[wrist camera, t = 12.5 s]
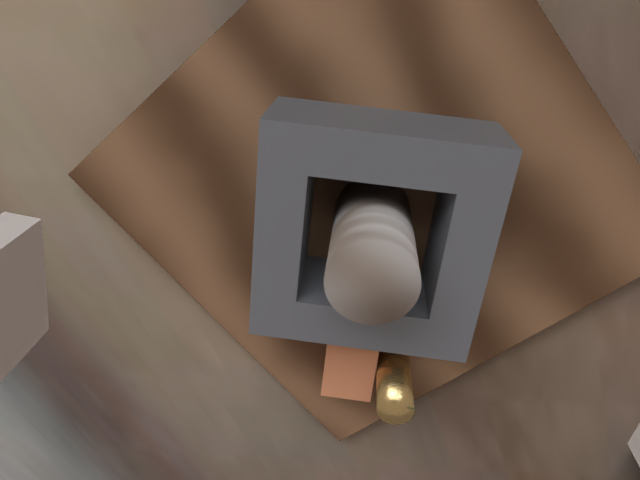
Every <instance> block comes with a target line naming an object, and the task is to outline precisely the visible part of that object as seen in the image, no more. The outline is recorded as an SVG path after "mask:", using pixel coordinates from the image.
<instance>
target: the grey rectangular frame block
mask: <svg viewBox="0 0 640 480" xmlns="http://www.w3.org/2000/svg"><path fill="white" fill-rule="evenodd" d="M522 151H523V150H522V149H521V148H520V147H519V145H518V144H517V143H516V142H515V141H514V140H513V139H512V137H511V136H510V135H509V134H508V133H507V132H506V130H505V129H504V128H503V127H502V126H501V125H500V124H499V122H494V121H486V120H477V119H469V118H460V117H452V116H443V115H435V114H426V113H418V112H409V111H401V110H392V109H384V108H375V107H367V106H358V105H350V104H341V103H333V102H325V101H316V100H308V99H299V98H291V97H282V96H278V97H277V98H276V99H275V101H274V102H273V103H272V104H271V105H270V107H269V108H268V109H267V110H266V111H265V113H264V114H263V115H262V116H261V117H260V119H259V138H258V158H257V178H256V198H255V218H254V238H253V258H252V278H251V298H250V318H249V334H254V335H262V336H269V337H277V338H284V339H291V340H299V341H306V342H314V343H321V344H327V348H326V356H325V364H324V372H323V380H322V388H321V396H328V397H335V398H342V399H350V400H357V401H364V402H370V400H371V395H372V389H373V383H374V378H375V372H376V367H377V361H378V356H379V351H380V352H388V353H395V354H402V355H410V356H417V357H425V358H432V359H440V360H447V361H454V362H462V363H466V361H467V357H468V353H469V349H470V346H471V342H472V338H473V334H474V331H475V327H476V323H477V319H478V316H479V312H480V308H481V304H482V301H483V297H484V293H485V290H486V286H487V282H488V278H489V275H490V271H491V267H492V263H493V260H494V256H495V252H496V248H497V245H498V241H499V237H500V234H501V230H502V226H503V222H504V219H505V215H506V211H507V207H508V204H509V200H510V196H511V192H512V189H513V185H514V181H515V177H516V174H517V170H518V166H519V163H520V159H521V155H522ZM315 177H320V178H328V179H336V180H344V181H352V182H361V183H369V184H377V185H385V186H393V187H401V188H409V189H417V190H425V191H433V192H437V195H436V200H435V205H434V210H433V215H432V220H431V225H430V230H429V235H428V239H427V244H426V249H425V254H424V259H423V264H422V269H421V270H420V274H421V292H420V295H419V298H418V300H417V302H416V303H415V305H414V306H413V308H412V309H411V310H410V311H409V312H408V313H407V314H406V315H404V316H403V317H401V318H399V319H398V320H396V321H393V322H390V323H387V324H382V325H364V324H359V323H356V322H353V321H351V320H348V319H347V318H345V317H343V316H342V315H340V314H339V313H338V312H337V311H336V310H335V309H334V308H333V307H332V306H331V304H330V302H329V301H328V299H327V297H326V294H325V290H324V274H325V268H326V263H327V258H322V257H314V256H307V254H308V244H309V234H310V224H311V214H312V204H313V194H314V184H315Z"/></svg>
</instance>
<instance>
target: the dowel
mask: <svg viewBox="0 0 640 480" xmlns="http://www.w3.org/2000/svg"><path fill="white" fill-rule="evenodd" d="M376 393H377V414H378V416H379V418H380V419H381V420H383V421H384V422H386V423H388V424H393V425H399V424H403V423H406V422H408V421H409V420H410V419H411V418H412V417H413V415H414V412H415V409H414V398H413V387H412V377H411V366H410V355H402V354H395V353H388V352H380V351H379V356H378V361H377V367H376Z"/></svg>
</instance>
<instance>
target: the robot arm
mask: <svg viewBox="0 0 640 480" xmlns="http://www.w3.org/2000/svg"><path fill="white" fill-rule="evenodd" d="M48 330H49V321H48V306H47V292H46V278H45V263H44V249H43V235H42V220H41V219H39V218H34V217H29V216H23V215H18V214H13V213H8V212H3V213H2V214H0V382H1V381H2V380H3V379H4V378H5V377H6V376H7V375H8V373H9V372H10V371H11V370H12V369H13V368H14V367H15V366H16V365H17V364H18V363H19V361H20V360H21V359H22V358H23V357H24V356H25V355H26V354H27V353H28V352H29V350H30V349H31V348H32V347H33V346H34V345H35V344H36V343H37V342H38V341H39V340H40V338H41V337H42V336H43V335H44V334H45V333H46V332H47V331H48ZM627 444H628V446H629V448H630V450H631V452H632V454H633V456H634V457H635V459H636V461H637V463H638V465H639V467H640V423H639V425H638V427H637V428H636V430H635V432H634V433H633V435H632V437H631V438H630V440H629V442H628V443H627Z"/></svg>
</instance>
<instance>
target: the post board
mask: <svg viewBox="0 0 640 480" xmlns="http://www.w3.org/2000/svg"><path fill="white" fill-rule="evenodd" d="M278 96H282V97H291V98H299V99H308V100H316V101H325V102H333V103H341V104H350V105H358V106H367V107H375V108H384V109H392V110H401V111H409V112H418V113H426V114H435V115H443V116H452V117H460V118H469V119H477V120H486V121H494V122H499V124H500V125H501V126H502V127H503V128H504V129H505V130H506V132H507V133H508V134H509V135H510V136H511V137H512V139H513V140H514V141H515V142H516V143H517V144H518V145H519V147H520V148H521V149H522V150H523V151H522V155H521V159H520V163H519V166H518V170H517V174H516V177H515V181H514V185H513V189H512V192H511V196H510V200H509V204H508V207H507V211H506V215H505V219H504V222H503V226H502V230H501V234H500V237H499V241H498V245H497V248H496V252H495V256H494V260H493V263H492V267H491V271H490V275H489V278H488V282H487V286H486V290H485V293H484V297H483V301H482V304H481V308H480V312H479V316H478V319H477V323H476V327H475V331H474V334H473V338H472V342H471V346H470V349H469V353H468V357H467V361H466V363H462V362H454V361H447V360H440V359H432V358H425V357H417V356H410V366H411V377H412V387H413V398H414V400H416V399H418V398H420V397H421V396H423V395H425V394H427V393H429V392H430V391H432V390H434V389H436V388H438V387H440V386H441V385H443V384H445V383H447V382H449V381H451V380H452V379H454V378H456V377H458V376H460V375H462V374H463V373H465V372H467V371H469V370H471V369H472V368H474V367H476V366H478V365H480V364H482V363H483V362H485V361H487V360H489V359H491V358H493V357H494V356H496V355H498V354H500V353H502V352H504V351H505V350H507V349H509V348H511V347H513V346H514V345H516V344H518V343H520V342H522V341H524V340H525V339H527V338H529V337H531V336H533V335H535V334H536V333H538V332H540V331H542V330H544V329H546V328H547V327H549V326H551V325H553V324H555V323H556V322H558V321H560V320H562V319H564V318H566V317H567V316H569V315H571V314H573V313H575V312H577V311H578V310H580V309H582V308H584V307H586V306H588V305H589V304H591V303H593V302H595V301H597V300H598V299H600V298H602V297H604V296H606V295H608V294H609V293H611V292H613V291H615V290H617V289H619V288H620V287H622V286H624V285H626V284H628V283H630V282H631V281H633V280H635V279H637V278H639V277H640V165H639V163H638V161H637V160H636V158H635V157H634V155H633V153H632V152H631V150H630V149H629V147H628V145H627V144H626V142H625V141H624V139H623V138H622V136H621V134H620V133H619V131H618V130H617V128H616V126H615V125H614V123H613V122H612V120H611V118H610V117H609V115H608V114H607V112H606V110H605V109H604V107H603V106H602V104H601V103H600V101H599V99H598V98H597V96H596V95H595V93H594V91H593V90H592V88H591V87H590V85H589V83H588V82H587V80H586V79H585V77H584V76H583V74H582V72H581V71H580V69H579V68H578V66H577V64H576V63H575V61H574V60H573V58H572V56H571V55H570V53H569V52H568V50H567V49H566V47H565V45H564V44H563V42H562V41H561V39H560V37H559V36H558V34H557V33H556V31H555V29H554V28H553V26H552V25H551V23H550V22H549V20H548V18H547V17H546V15H545V14H544V12H543V10H542V9H541V7H540V6H539V4H538V2H537V1H536V0H248V1H247V2H246V3H245V4H244V5H243V6H242V7H241V8H240V9H239V10H238V11H237V12H236V13H235V14H234V15H233V16H232V17H231V18H230V19H229V20H228V21H227V22H226V23H225V24H224V25H223V26H222V27H220V28H219V29H218V30H217V31H216V32H215V33H214V34H213V35H212V36H211V37H210V38H209V39H208V40H207V41H206V42H205V43H204V44H203V45H202V46H201V47H200V48H199V49H198V50H197V51H196V52H195V53H194V54H193V55H192V56H190V57H189V58H188V59H187V60H186V61H185V62H184V63H183V64H182V65H181V66H180V67H179V68H178V69H177V70H176V71H175V72H174V73H173V74H172V75H171V76H170V77H169V78H168V79H167V80H166V81H165V82H164V83H163V84H162V85H160V86H159V87H158V88H157V89H156V90H155V91H154V92H153V93H152V94H151V95H150V96H149V97H148V98H147V99H146V100H145V101H144V102H143V103H142V104H141V105H140V106H139V107H138V108H137V109H136V110H135V111H134V112H133V113H132V114H130V115H129V116H128V117H127V118H126V119H125V120H124V121H123V122H122V123H121V124H120V125H119V126H118V127H117V128H116V129H115V130H114V131H113V132H112V133H111V134H110V135H109V136H108V137H107V138H106V139H105V140H104V141H103V142H102V143H100V144H99V145H98V146H97V147H96V148H95V149H94V150H93V151H92V152H91V153H90V154H89V155H88V156H87V157H86V158H85V159H84V160H83V161H82V162H81V163H80V164H79V165H78V166H77V167H76V168H75V169H74V170H73V171H71V172H70V173H69V174H68V175H69V176H70V177H71V178H72V179H73V180H74V181H75V182H76V183H77V184H78V185H79V186H80V187H81V188H82V189H83V190H84V191H85V192H86V193H87V194H88V195H89V196H90V197H91V198H92V199H93V200H94V201H95V202H96V203H97V204H98V205H99V206H100V207H101V208H103V209H104V210H105V211H106V212H107V213H108V214H109V215H110V216H111V217H112V218H113V219H114V220H115V221H116V222H117V223H118V224H119V225H120V226H121V227H122V228H123V229H124V230H125V231H126V232H127V233H128V234H129V235H130V236H131V237H132V238H133V239H134V240H135V241H136V242H137V243H138V244H139V245H140V246H141V247H142V248H143V249H144V250H145V251H146V252H147V253H148V254H149V255H150V256H151V257H152V258H153V259H154V260H156V261H157V262H158V263H159V264H160V265H161V266H162V267H163V268H164V269H165V270H166V271H167V272H168V273H169V274H170V275H171V276H172V277H173V278H174V279H175V280H176V281H177V282H178V283H179V284H180V285H181V286H182V287H183V288H184V289H185V290H186V291H187V292H188V293H189V294H190V295H191V296H192V297H193V298H194V299H195V300H196V301H197V302H198V303H199V304H200V305H201V306H202V307H203V308H204V309H205V310H206V311H208V312H209V313H210V314H211V315H212V316H213V317H214V318H215V319H216V320H217V321H218V322H219V323H220V324H221V325H222V326H223V327H224V328H225V329H226V330H227V331H228V332H229V333H230V334H231V335H232V336H233V337H234V338H235V339H236V340H237V341H238V342H239V343H240V344H241V345H242V346H243V347H244V348H245V349H246V350H247V351H248V352H249V353H250V354H251V355H252V356H253V357H254V358H255V359H256V360H257V361H258V362H260V363H261V364H262V365H263V366H264V367H265V368H266V369H267V370H268V371H269V372H270V373H271V374H272V375H273V376H274V377H275V378H276V379H277V380H278V381H279V382H280V383H281V384H282V385H283V386H284V387H285V388H286V389H287V390H288V391H289V392H290V393H291V394H292V395H293V396H294V397H295V398H296V399H297V400H298V401H299V402H300V403H301V404H302V405H303V406H304V407H305V408H306V409H307V410H308V411H309V412H310V413H312V414H313V415H314V416H315V417H316V418H317V419H318V420H319V421H320V422H321V423H322V424H323V425H324V426H325V427H326V428H327V429H328V430H329V431H330V432H331V433H332V434H333V435H334V436H335V437H336V438H337V439H338V440H339V441H341V440H343V439H345V438H346V437H348V436H350V435H352V434H354V433H356V432H357V431H359V430H361V429H363V428H365V427H367V426H368V425H370V424H372V423H374V422H376V421H378V420H379V419H380V418H379V416H378V414H377V393H376V372H375V378H374V383H373V389H372V395H371V400H370V402H364V401H357V400H350V399H342V398H335V397H328V396H321V388H322V380H323V372H324V364H325V356H326V348H327V344H321V343H314V342H306V341H299V340H291V339H284V338H277V337H269V336H262V335H254V334H249V318H250V298H251V278H252V258H253V238H254V218H255V198H256V178H257V158H258V138H259V119H260V117H261V116H262V115H263V114H264V113H265V111H266V110H267V109H268V108H269V107H270V105H271V104H272V103H273V102H274V101H275V99H276V98H277V97H278ZM436 195H437V192H433V191H425V190H417V189H409V188H401V187H393V186H385V185H377V184H369V183H361V182H352V181H344V180H336V179H328V178H320V177H315V184H314V194H313V204H312V214H311V224H310V234H309V244H308V254H307V256H314V257H322V258H327V263H326V268H325V274H324V290H325V294H326V297H327V299H328V301H329V302H330V304H331V306H332V307H333V308H334V309H335V310H336V311H337V312H338V313H339V314H340V315H342V316H343V317H345V318H347V319H348V320H351V321H353V322H356V323H359V324H364V325H382V324H387V323H390V322H393V321H396V320H398V319H399V318H401V317H403V316H404V315H406V314H407V313H408V312H409V311H410V310H411V309H412V308H413V306H414V305H415V303H416V302H417V300H418V298H419V295H420V292H421V274H420V270H421V269H422V264H423V259H424V254H425V249H426V244H427V239H428V235H429V230H430V225H431V220H432V215H433V210H434V205H435V200H436Z"/></svg>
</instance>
